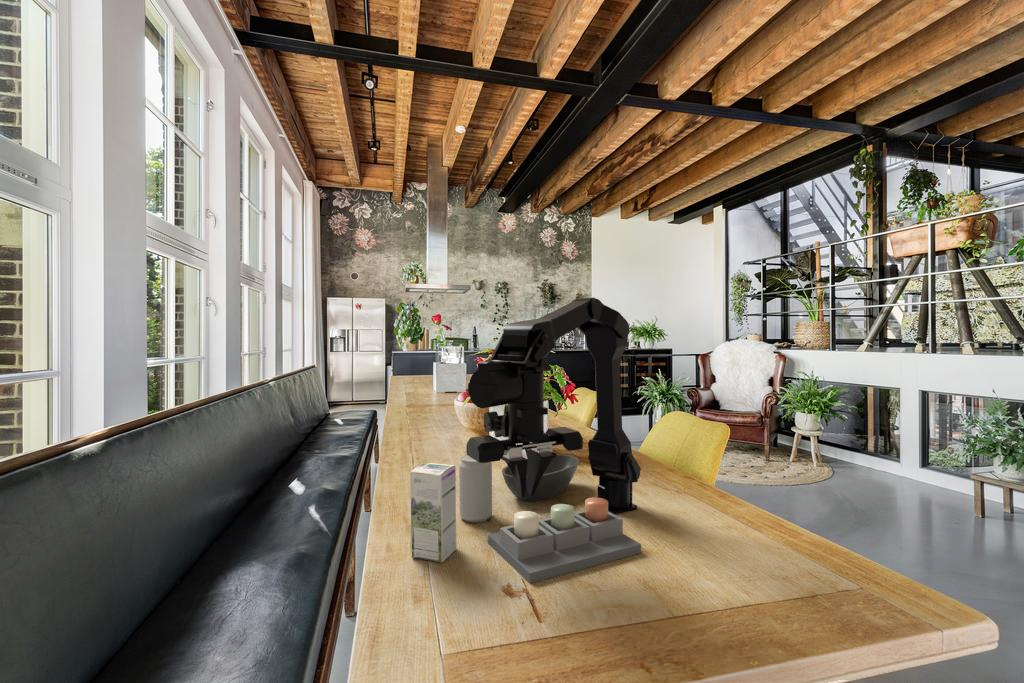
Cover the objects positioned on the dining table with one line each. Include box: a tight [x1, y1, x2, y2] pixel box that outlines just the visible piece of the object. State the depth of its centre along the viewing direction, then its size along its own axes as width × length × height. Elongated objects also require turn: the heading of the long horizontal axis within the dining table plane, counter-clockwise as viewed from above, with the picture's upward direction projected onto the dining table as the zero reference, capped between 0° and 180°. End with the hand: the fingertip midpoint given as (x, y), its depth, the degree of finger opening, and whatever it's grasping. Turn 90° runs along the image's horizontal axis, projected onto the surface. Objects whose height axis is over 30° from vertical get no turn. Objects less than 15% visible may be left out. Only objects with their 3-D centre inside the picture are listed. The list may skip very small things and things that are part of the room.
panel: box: [487, 509, 642, 584], centre depth 84 cm, size 21×15×4 cm
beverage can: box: [458, 454, 493, 523], centre depth 97 cm, size 6×6×12 cm
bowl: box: [501, 454, 580, 502], centre depth 112 cm, size 12×22×6 cm, turn 135°
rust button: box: [584, 497, 609, 524], centre depth 87 cm, size 4×4×3 cm
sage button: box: [550, 503, 576, 531], centre depth 83 cm, size 4×4×3 cm
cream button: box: [513, 510, 540, 540], centre depth 80 cm, size 4×4×3 cm
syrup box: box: [409, 462, 457, 563], centre depth 82 cm, size 6×6×14 cm
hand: (526, 496), depth 80 cm, fingers closed
